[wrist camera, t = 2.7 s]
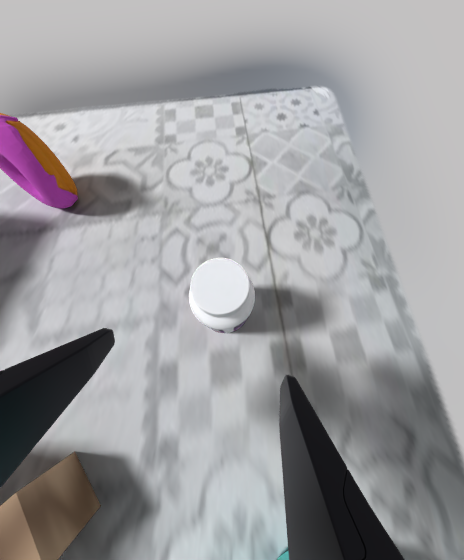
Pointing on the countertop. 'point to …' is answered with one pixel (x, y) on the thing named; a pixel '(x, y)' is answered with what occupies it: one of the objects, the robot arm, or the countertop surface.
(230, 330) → the pill bottle
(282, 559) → the decorative dice
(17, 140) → the donut
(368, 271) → the countertop surface
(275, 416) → the countertop surface
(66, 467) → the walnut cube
